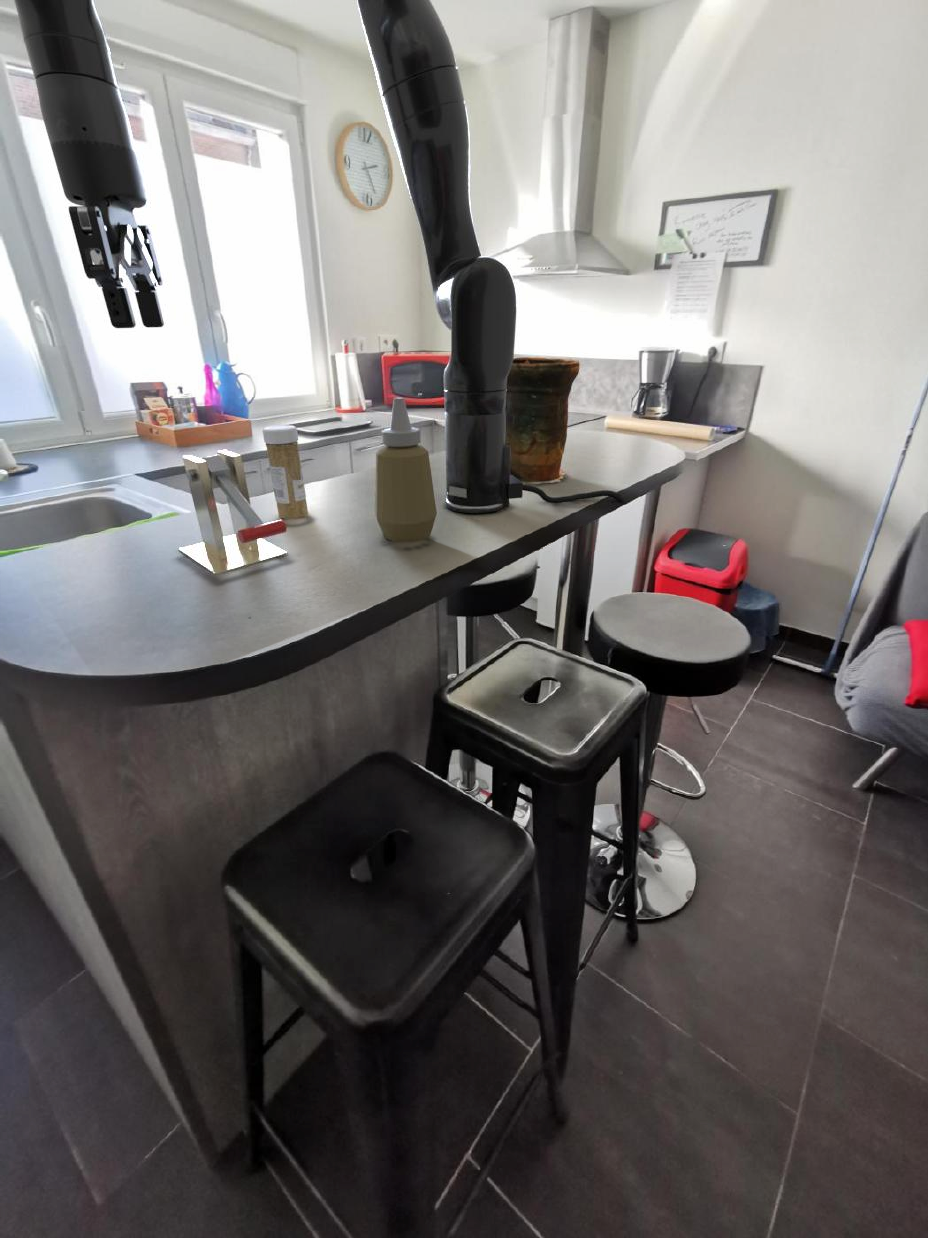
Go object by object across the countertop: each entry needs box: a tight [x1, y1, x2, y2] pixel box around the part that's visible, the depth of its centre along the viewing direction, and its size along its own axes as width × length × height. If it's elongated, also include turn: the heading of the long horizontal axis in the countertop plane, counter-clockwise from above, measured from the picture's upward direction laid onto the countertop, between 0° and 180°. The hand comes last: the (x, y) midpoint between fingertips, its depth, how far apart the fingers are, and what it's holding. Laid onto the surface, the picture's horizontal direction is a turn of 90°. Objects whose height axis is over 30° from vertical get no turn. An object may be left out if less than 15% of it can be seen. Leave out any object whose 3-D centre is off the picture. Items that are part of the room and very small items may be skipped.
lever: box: [199, 454, 288, 543], centre depth 63 cm, size 13×5×2 cm, turn 45°
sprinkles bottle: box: [262, 424, 309, 520], centre depth 81 cm, size 5×5×13 cm
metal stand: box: [178, 449, 288, 576], centre depth 67 cm, size 11×9×13 cm
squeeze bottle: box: [374, 397, 438, 543], centre depth 72 cm, size 8×8×18 cm
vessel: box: [506, 356, 580, 485], centre depth 101 cm, size 14×14×20 cm
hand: (140, 327), depth 64 cm, fingers open, 8 cm apart
